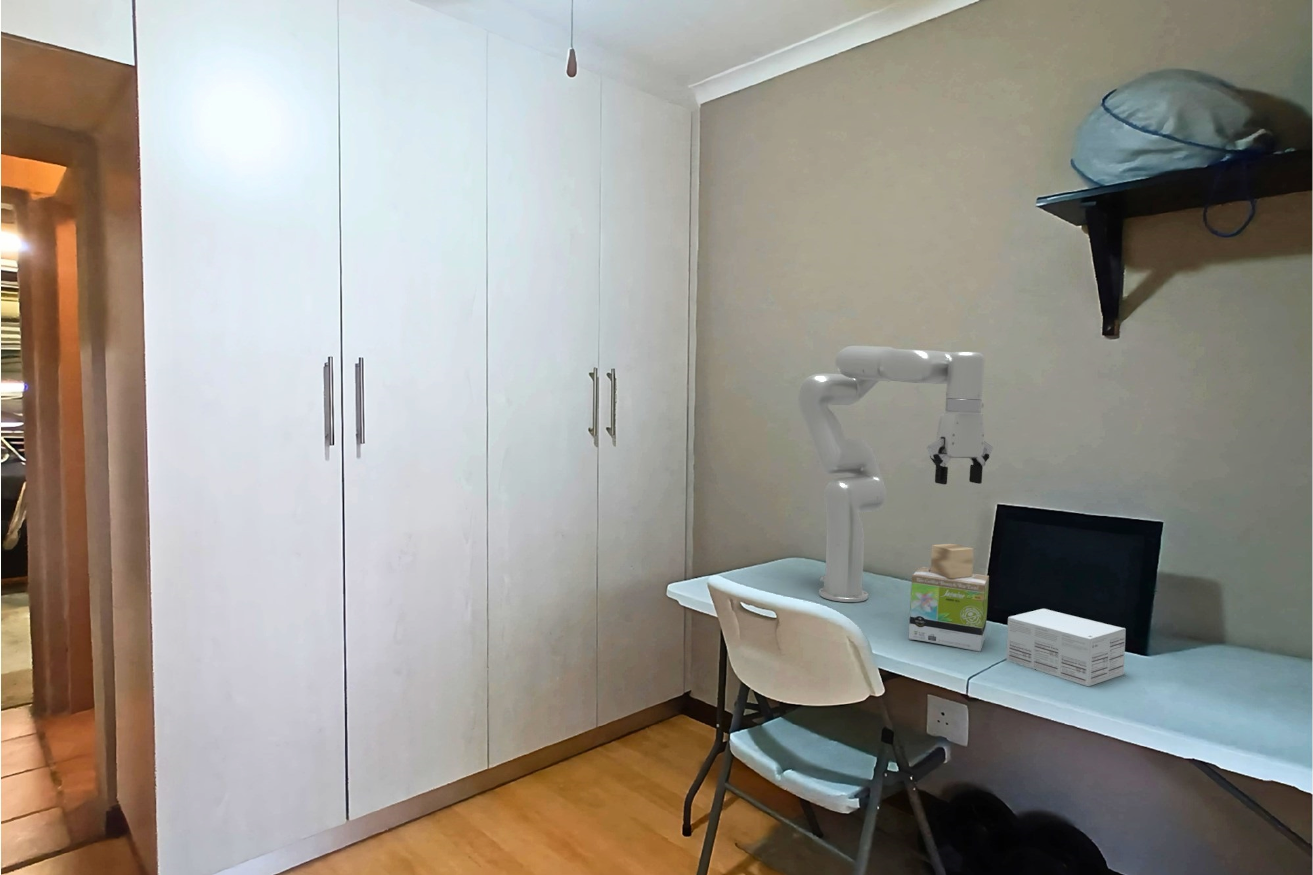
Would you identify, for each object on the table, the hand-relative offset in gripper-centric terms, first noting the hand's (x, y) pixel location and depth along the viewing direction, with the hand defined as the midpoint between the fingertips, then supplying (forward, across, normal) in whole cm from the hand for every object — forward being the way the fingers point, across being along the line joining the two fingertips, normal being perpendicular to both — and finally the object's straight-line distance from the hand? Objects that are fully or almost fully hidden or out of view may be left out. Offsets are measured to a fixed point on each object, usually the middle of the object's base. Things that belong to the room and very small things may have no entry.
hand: (958, 483), depth 173 cm
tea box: (+34, +5, +6) cm, 35 cm away
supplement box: (+34, -5, +26) cm, 43 cm away
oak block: (+19, +6, +6) cm, 21 cm away
